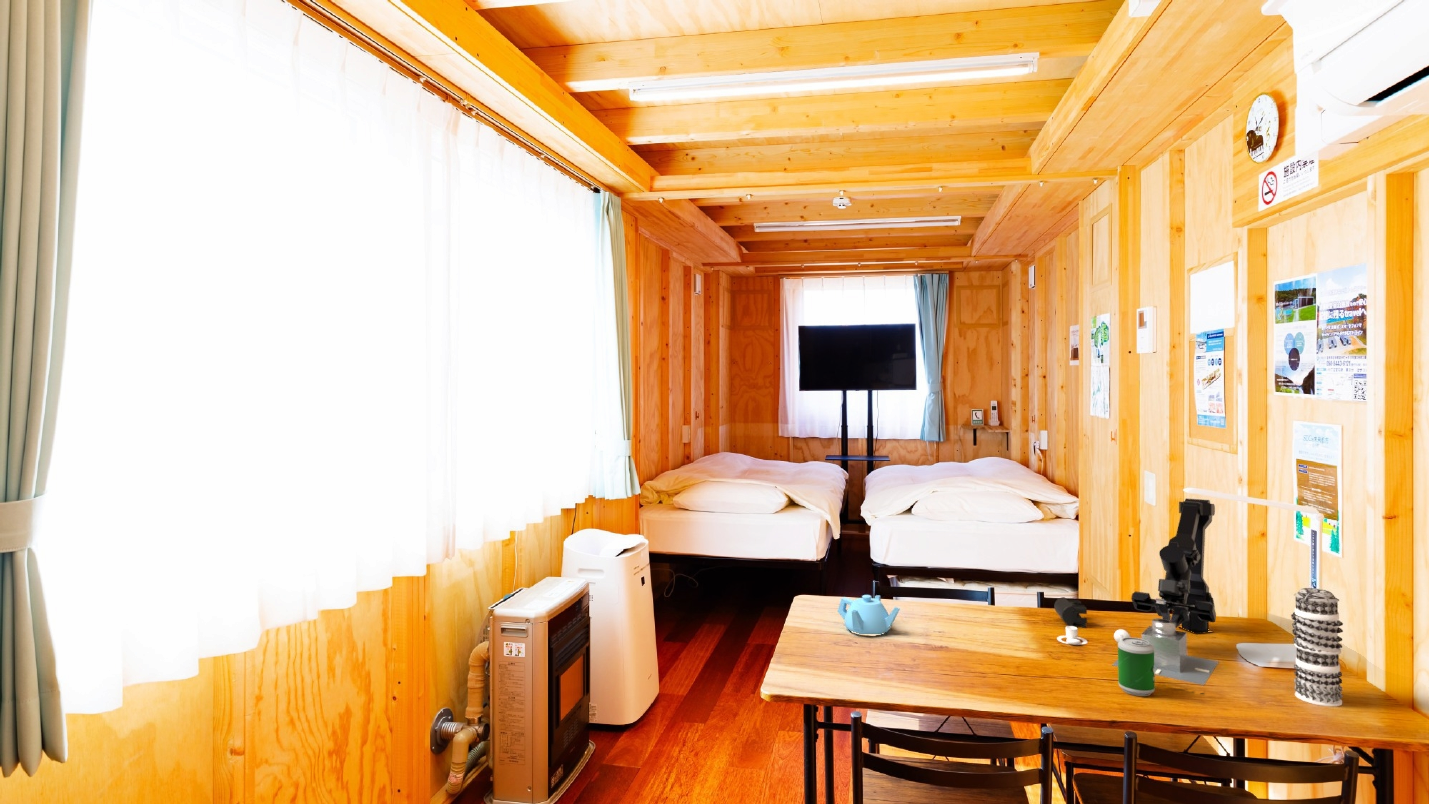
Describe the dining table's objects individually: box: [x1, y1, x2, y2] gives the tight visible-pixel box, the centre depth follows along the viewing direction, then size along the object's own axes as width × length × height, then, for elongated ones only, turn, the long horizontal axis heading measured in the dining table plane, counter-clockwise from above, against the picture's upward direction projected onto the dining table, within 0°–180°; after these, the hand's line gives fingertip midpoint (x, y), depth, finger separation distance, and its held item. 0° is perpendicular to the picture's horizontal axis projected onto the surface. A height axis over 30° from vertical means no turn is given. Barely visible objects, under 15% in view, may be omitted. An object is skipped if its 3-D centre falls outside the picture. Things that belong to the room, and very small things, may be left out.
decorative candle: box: [1290, 587, 1344, 708], centre depth 166 cm, size 9×9×25 cm
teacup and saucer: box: [1056, 625, 1088, 646], centre depth 209 cm, size 9×8×4 cm
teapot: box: [837, 594, 901, 634], centre depth 222 cm, size 15×15×11 cm
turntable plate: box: [1111, 628, 1219, 686], centre depth 187 cm, size 20×20×10 cm
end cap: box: [1053, 596, 1088, 629], centre depth 225 cm, size 10×7×7 cm
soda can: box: [1117, 636, 1156, 697], centre depth 173 cm, size 8×8×12 cm
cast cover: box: [1141, 618, 1188, 673], centre depth 187 cm, size 8×8×11 cm
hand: (1168, 634), depth 190 cm, fingers closed, pressing on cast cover
